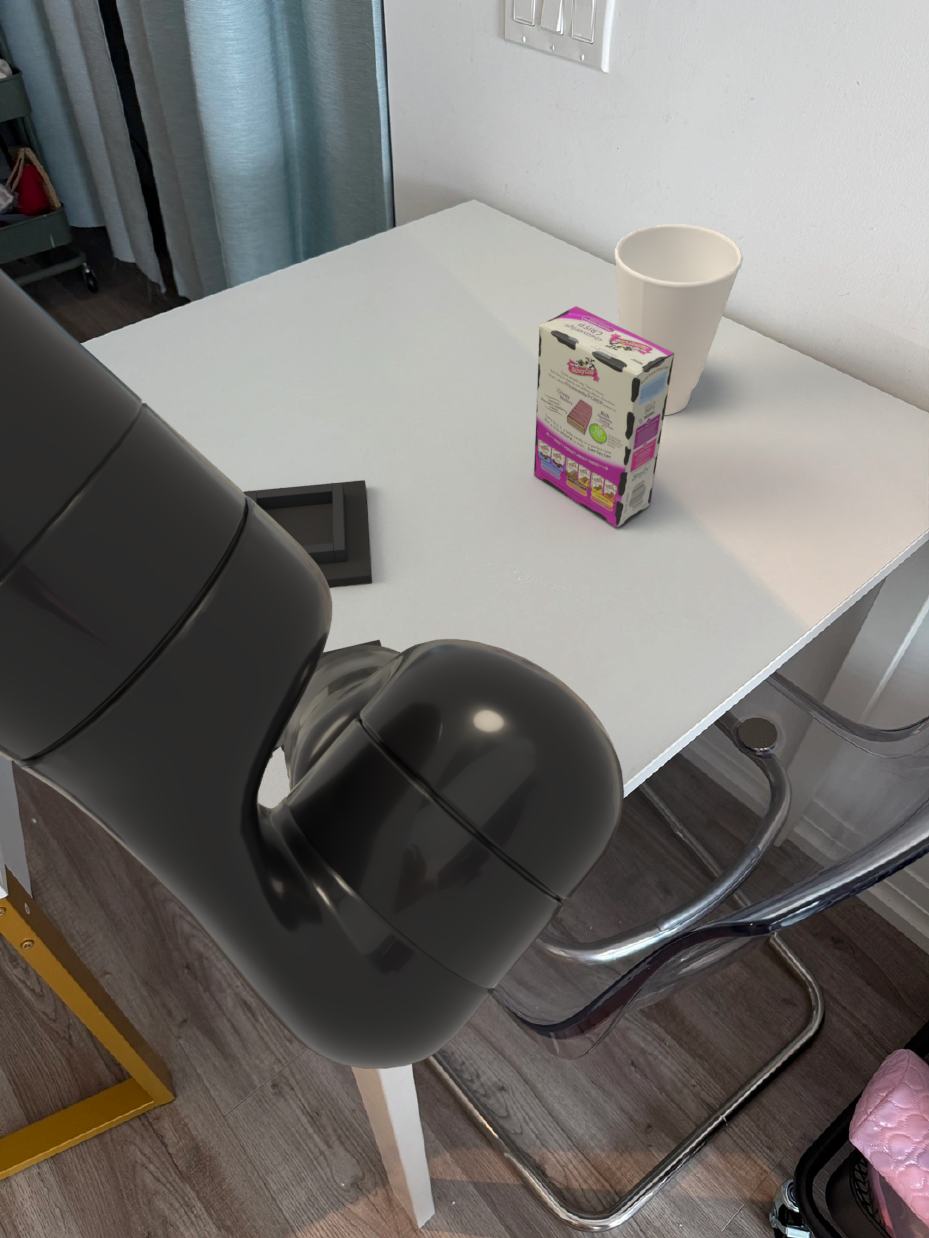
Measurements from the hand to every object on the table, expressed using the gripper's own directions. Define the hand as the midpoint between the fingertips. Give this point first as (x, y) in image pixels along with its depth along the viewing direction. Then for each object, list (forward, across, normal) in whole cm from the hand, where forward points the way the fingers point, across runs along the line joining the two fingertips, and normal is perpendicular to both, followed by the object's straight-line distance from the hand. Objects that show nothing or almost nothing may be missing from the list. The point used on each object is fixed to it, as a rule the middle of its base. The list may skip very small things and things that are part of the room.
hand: (350, 692), depth 56 cm
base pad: (+30, +1, -11) cm, 32 cm away
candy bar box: (+28, -28, -10) cm, 41 cm away
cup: (+37, -40, -18) cm, 57 cm away
